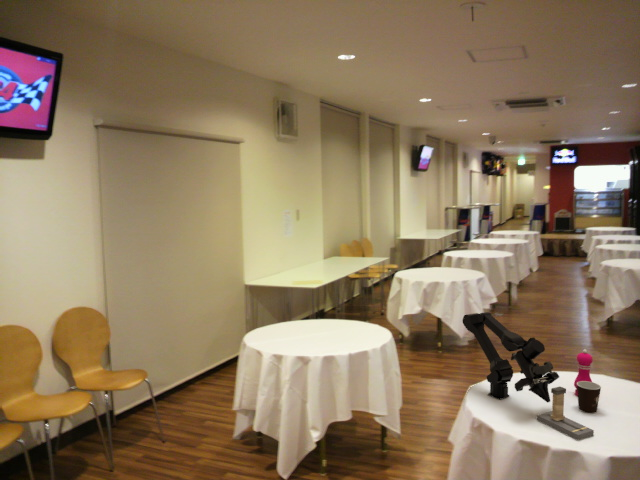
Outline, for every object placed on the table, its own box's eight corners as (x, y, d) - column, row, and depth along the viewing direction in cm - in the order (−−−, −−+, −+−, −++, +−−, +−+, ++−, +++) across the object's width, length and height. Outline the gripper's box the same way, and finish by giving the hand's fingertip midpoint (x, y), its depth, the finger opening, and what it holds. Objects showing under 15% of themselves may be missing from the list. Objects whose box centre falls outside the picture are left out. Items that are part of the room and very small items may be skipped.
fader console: (536, 420, 200) (536, 414, 200) (551, 415, 203) (551, 410, 203) (577, 440, 184) (578, 434, 184) (593, 435, 187) (593, 430, 187)
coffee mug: (586, 415, 204) (587, 390, 203) (570, 406, 212) (571, 382, 211) (611, 411, 207) (612, 387, 206) (594, 403, 215) (595, 379, 214)
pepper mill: (595, 398, 219) (598, 352, 217) (578, 398, 219) (580, 352, 217) (587, 391, 226) (589, 346, 224) (570, 391, 227) (572, 346, 224)
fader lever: (549, 418, 196) (550, 388, 195) (558, 415, 198) (559, 386, 197) (556, 421, 194) (557, 391, 193) (565, 418, 196) (566, 389, 194)
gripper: (521, 358, 198) (543, 397, 190) (556, 351, 206) (579, 388, 197) (505, 372, 206) (526, 409, 197) (539, 364, 214) (561, 400, 205)
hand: (548, 401), depth 199 cm, fingers closed
